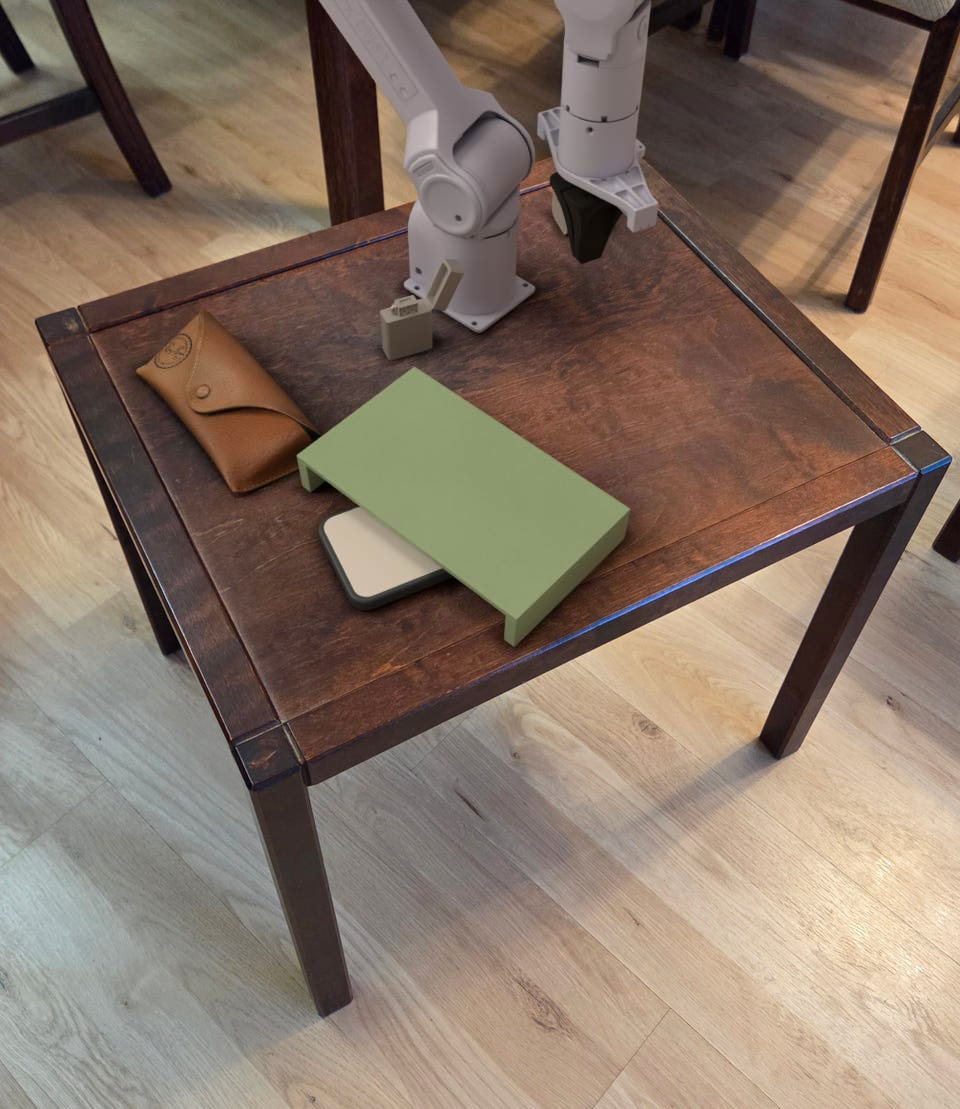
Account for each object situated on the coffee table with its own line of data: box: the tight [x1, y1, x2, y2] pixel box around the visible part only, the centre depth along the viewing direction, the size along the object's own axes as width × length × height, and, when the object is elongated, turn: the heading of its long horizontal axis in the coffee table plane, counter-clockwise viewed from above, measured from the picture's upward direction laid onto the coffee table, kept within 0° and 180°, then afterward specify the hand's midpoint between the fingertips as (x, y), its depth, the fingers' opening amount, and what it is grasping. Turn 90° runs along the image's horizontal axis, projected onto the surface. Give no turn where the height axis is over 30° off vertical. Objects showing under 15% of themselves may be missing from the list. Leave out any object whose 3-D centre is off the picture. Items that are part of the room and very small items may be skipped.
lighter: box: [379, 258, 464, 361], centre depth 89 cm, size 7×2×8 cm, turn 114°
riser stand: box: [297, 366, 631, 648], centre depth 80 cm, size 22×13×4 cm, turn 48°
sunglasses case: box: [135, 308, 323, 494], centre depth 86 cm, size 18×7×7 cm
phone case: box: [317, 504, 455, 611], centre depth 80 cm, size 9×2×16 cm
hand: (587, 256), depth 87 cm, fingers closed
